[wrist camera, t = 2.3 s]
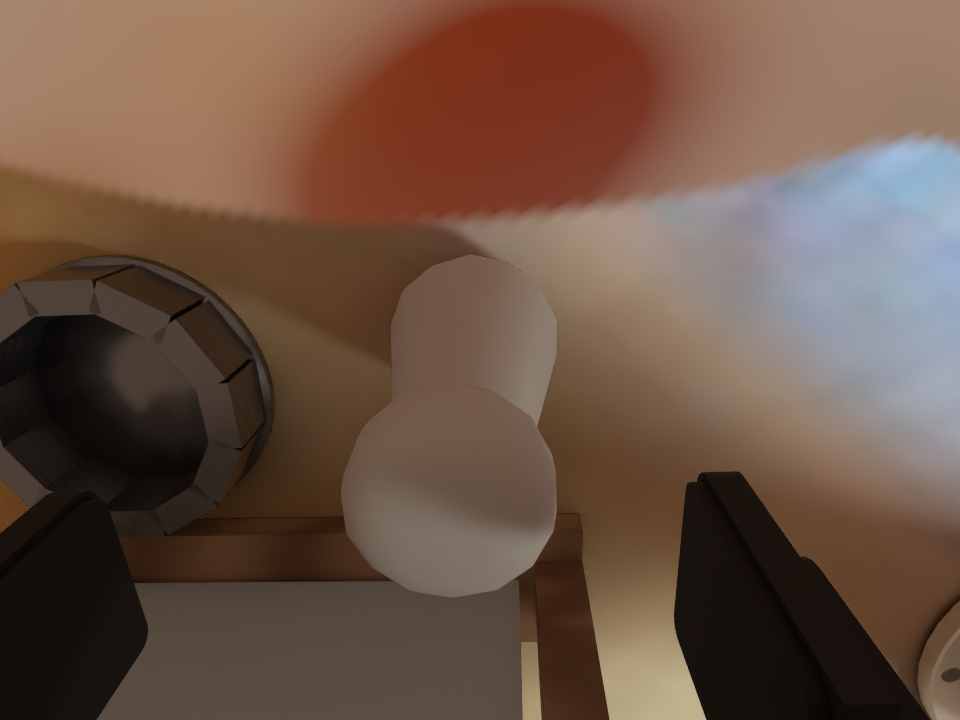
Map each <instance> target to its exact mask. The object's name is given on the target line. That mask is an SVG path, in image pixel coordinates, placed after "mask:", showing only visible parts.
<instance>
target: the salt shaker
mask: <svg viewBox="0 0 960 720" xmlns="http://www.w3.org/2000/svg"><path fill="white" fill-rule="evenodd" d="M556 356H557V319H556V317H555V315H554V313H553V311H552V309H551V307H550V305H549V303H548V301H547V299H546V297H545V295H544V293H543V291H542V289H541V287H540V285H539V284H538V283H536V282H535V281H534V280H532V279H531V278H529V277H528V276H526V275H525V274H524V273H522V272H521V271H519V270H518V269H517V268H515V267H514V266H512V265H511V264H510V263H508V262H505V261H500V260H495V259H491V258H486V257H481V256H476V255H472V254H470V255H466V256H463V257H459V258H456V259H453V260H449V261H446V262H443V263H439V264H436V265H432V266H431V267H430V268H428V269H427V270H426V271H425V272H424V273H423V274H421V275H420V276H419V277H418V278H417V279H415V280H414V281H413V282H412V283H411V284H409V285H408V286H407V287H406V288H405V289H404V290H403V291H402V294H401V297H400V300H399V302H398V305H397V308H396V311H395V313H394V316H393V319H392V322H391V362H392V402H391V403H390V404H388V405H387V406H386V407H385V408H383V409H382V410H381V411H380V412H378V413H377V414H376V415H375V416H373V417H372V418H371V419H370V420H368V421H367V423H366V424H365V426H364V427H363V429H362V430H361V432H360V433H359V435H358V438H357V440H356V443H355V446H354V448H353V451H352V453H351V456H350V459H349V461H348V464H347V467H346V469H345V472H344V475H343V482H342V488H341V499H342V507H343V514H344V521H345V528H346V534H347V535H348V537H349V538H350V539H351V541H352V542H353V543H354V545H355V546H356V547H357V549H358V550H359V551H360V553H361V554H362V555H363V557H364V558H365V559H366V561H367V562H368V563H369V565H370V566H371V567H372V568H373V569H375V570H377V571H378V572H380V573H382V574H383V575H385V576H386V577H388V578H390V579H391V580H393V581H395V582H396V583H398V584H400V585H401V586H403V587H405V588H406V589H408V590H410V591H413V592H419V593H425V594H431V595H438V596H444V597H450V598H455V597H460V596H466V595H471V594H477V593H483V592H488V591H494V590H498V589H500V588H501V587H503V586H504V585H506V584H507V583H508V582H510V581H511V580H513V579H514V578H516V577H517V576H519V575H520V574H522V573H523V572H525V571H526V570H528V569H529V568H531V567H532V566H533V565H534V563H535V561H536V560H537V558H538V556H539V555H540V553H541V551H542V550H543V548H544V546H545V545H546V543H547V541H548V539H549V538H550V536H551V534H552V533H553V530H554V524H555V518H556V512H557V508H556V469H555V465H554V461H553V457H552V454H551V452H550V450H549V448H548V446H547V444H546V443H545V441H544V439H543V437H542V435H541V433H540V432H539V430H538V428H537V426H538V422H539V418H540V415H541V411H542V407H543V404H544V400H545V396H546V393H547V389H548V385H549V382H550V378H551V374H552V371H553V367H554V363H555V360H556Z"/></svg>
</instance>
